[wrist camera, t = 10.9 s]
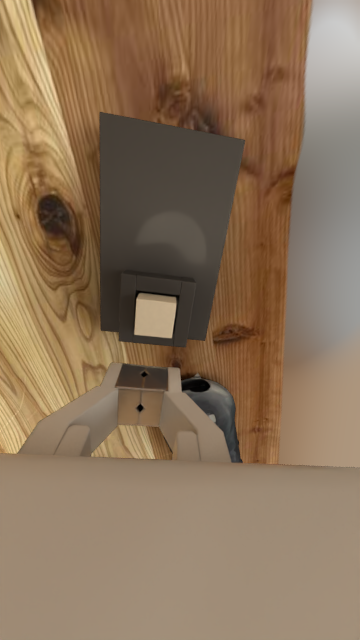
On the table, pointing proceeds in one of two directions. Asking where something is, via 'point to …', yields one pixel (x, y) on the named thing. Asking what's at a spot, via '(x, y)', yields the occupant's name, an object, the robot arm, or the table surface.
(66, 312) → the table surface
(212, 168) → the push button base
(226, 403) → the dark grey rounded piece
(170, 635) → the robot arm
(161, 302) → the beige square push button
